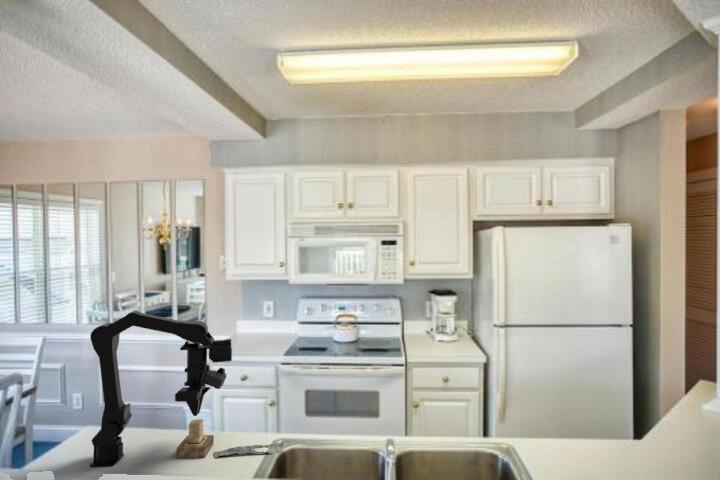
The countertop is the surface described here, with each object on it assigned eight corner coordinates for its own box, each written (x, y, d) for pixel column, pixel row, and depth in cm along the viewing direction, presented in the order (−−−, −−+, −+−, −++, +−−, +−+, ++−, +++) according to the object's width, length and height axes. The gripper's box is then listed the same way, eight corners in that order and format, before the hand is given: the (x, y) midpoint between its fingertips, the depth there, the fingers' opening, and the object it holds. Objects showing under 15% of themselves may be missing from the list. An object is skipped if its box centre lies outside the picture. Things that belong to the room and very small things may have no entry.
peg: (188, 453, 124) (188, 423, 124) (192, 448, 127) (192, 419, 128) (199, 453, 124) (199, 423, 125) (203, 448, 128) (203, 419, 128)
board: (176, 458, 122) (176, 447, 122) (187, 445, 130) (187, 435, 130) (205, 457, 122) (205, 446, 122) (213, 444, 130) (213, 434, 130)
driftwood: (211, 460, 121) (211, 453, 121) (215, 449, 128) (216, 443, 128) (282, 456, 124) (282, 449, 124) (283, 446, 131) (283, 439, 131)
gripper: (214, 371, 118) (213, 427, 117) (231, 355, 136) (231, 403, 136) (174, 372, 117) (173, 427, 117) (197, 355, 136) (196, 403, 135)
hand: (196, 414), depth 126 cm, fingers closed
